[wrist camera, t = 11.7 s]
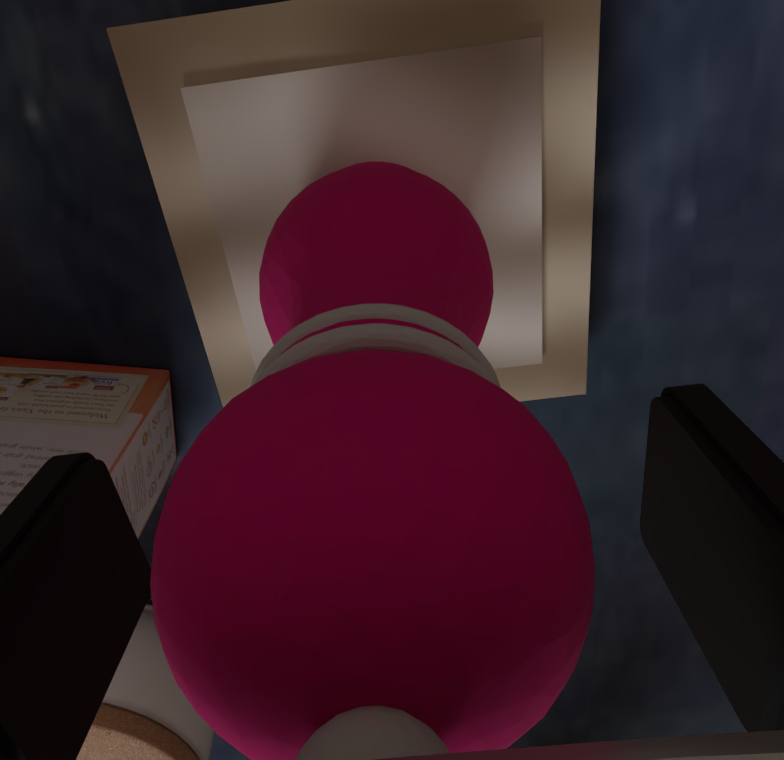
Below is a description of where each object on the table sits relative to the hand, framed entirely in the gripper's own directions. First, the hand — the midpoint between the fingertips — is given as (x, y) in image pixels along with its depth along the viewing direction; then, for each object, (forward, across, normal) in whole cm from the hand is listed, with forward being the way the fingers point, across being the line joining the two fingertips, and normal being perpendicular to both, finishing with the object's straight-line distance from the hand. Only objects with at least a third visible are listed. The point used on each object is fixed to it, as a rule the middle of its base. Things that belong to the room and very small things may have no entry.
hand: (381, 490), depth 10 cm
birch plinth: (+17, 0, -1) cm, 17 cm away
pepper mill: (+14, 0, 0) cm, 14 cm away
